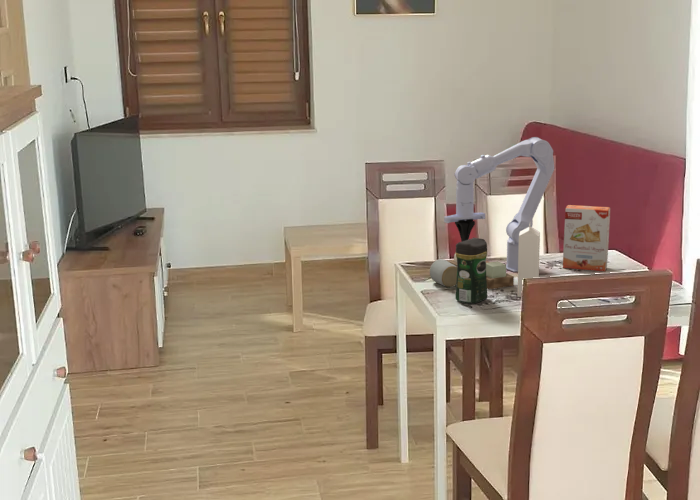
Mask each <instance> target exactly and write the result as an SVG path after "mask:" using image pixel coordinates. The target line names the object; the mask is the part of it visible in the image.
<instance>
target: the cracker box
mask: <svg viewBox="0 0 700 500" xmlns="http://www.w3.org/2000/svg"><path fill="white" fill-rule="evenodd" d="M564 212H565V213H564V227H563V228H564V229H563V231H564V233H563V249H562V250H563V252H562V253H563V254H562V255H563V256H562V268H563V269H572V270H583V271H585V270H586V271H597V272H606V270H607V268H608V260H609V259H608V257H609V242H610V241H609V239H610V238H609V237H610V225H611V223H610V222H611V221H610V220H611V207H609V206H595V205H594V206H590V205H577V204H576V205H574V204H572V205H571V204H568V205H566V207H565V211H564Z"/></svg>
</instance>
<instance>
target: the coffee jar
mask: <svg viewBox="0 0 700 500" xmlns="http://www.w3.org/2000/svg"><path fill="white" fill-rule="evenodd" d="M455 254H456V257H457V280H456V285H455V300H456V301H458V302H459V303H462V304H478V303H480V302H483V301H485V300H486V299H487V298H488V288H487V279H486V261H487V256H488V243H487V241H486V239H484V238H479V237H472V238H469V239H468V240H466V241H462V242H461V241H460V242H457V243H456V244H455Z"/></svg>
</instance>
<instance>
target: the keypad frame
mask: <svg viewBox="0 0 700 500" xmlns="http://www.w3.org/2000/svg"><path fill="white" fill-rule="evenodd" d="M446 261H448V262H450V263H451V264H453V265H455V266H456V267H457V262H455V261H454V259H448V260H446ZM486 279H487V290H495V289H502V288H507V287H514V285H515V275H514V276H513V275H511V274H508V273H507V272H506V277H499V278H490V277H488V276H486Z"/></svg>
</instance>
